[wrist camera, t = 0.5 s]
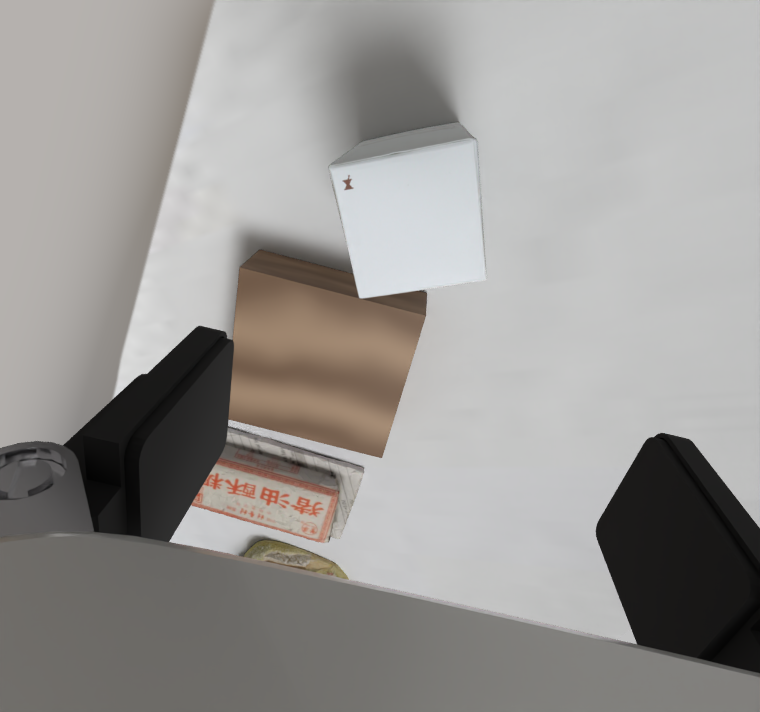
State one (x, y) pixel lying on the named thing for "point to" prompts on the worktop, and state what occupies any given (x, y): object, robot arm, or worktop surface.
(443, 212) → the supplement box
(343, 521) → the packaged product
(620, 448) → the worktop surface
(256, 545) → the ceramic model
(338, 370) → the walnut block
